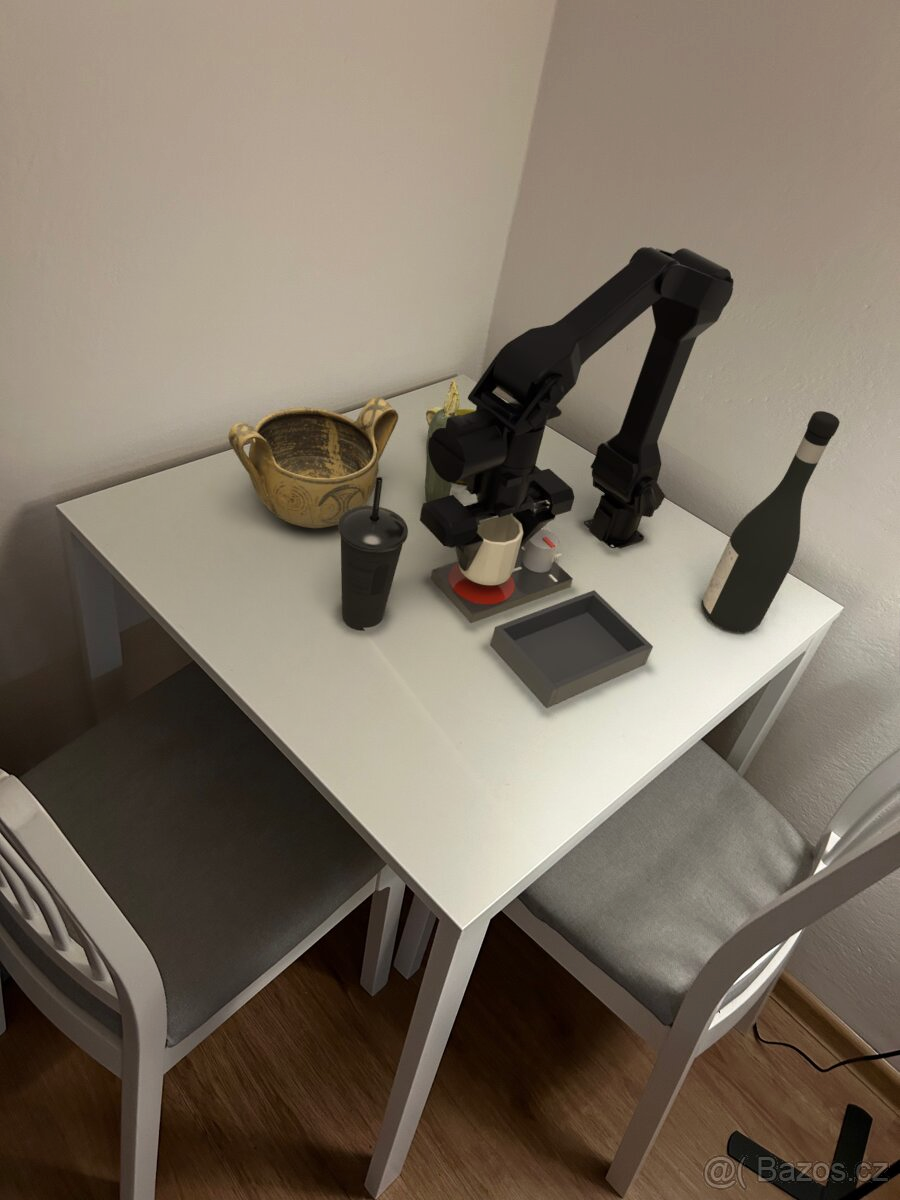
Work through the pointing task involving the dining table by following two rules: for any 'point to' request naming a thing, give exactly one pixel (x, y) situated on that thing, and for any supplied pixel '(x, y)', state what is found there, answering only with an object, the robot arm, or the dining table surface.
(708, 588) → the wine bottle
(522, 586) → the hob
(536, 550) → the knob
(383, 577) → the drinking cup
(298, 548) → the dining table surface
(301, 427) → the ceramic bowl
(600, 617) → the sink
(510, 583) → the burner
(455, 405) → the vegetable
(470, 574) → the pot
